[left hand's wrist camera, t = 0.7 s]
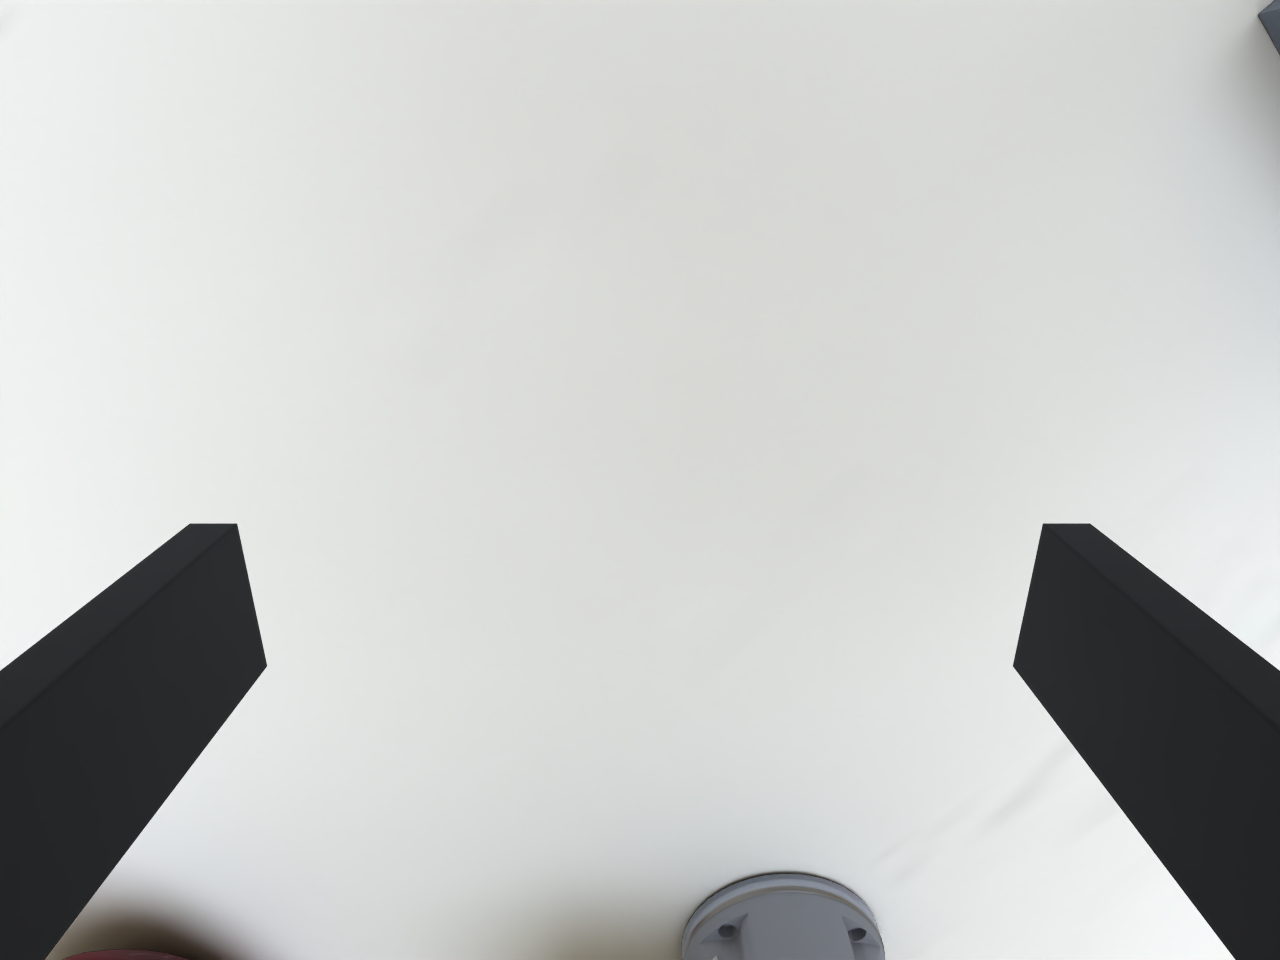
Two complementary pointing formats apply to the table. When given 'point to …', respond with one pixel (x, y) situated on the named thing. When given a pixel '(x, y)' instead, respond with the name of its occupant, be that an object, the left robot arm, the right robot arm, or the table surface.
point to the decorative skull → (125, 955)
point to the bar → (1272, 22)
